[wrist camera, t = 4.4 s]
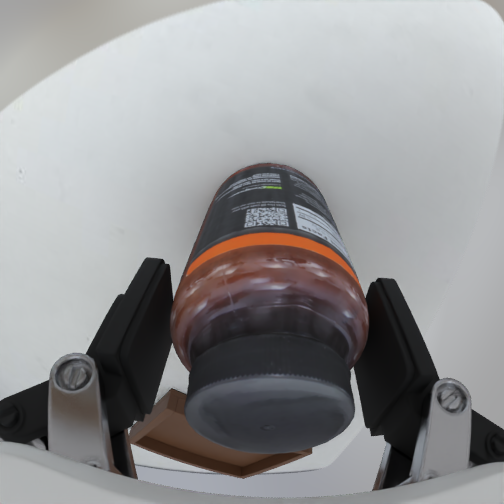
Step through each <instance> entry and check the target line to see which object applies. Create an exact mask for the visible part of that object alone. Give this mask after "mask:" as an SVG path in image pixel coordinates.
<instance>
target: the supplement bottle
mask: <svg viewBox="0 0 504 504" xmlns="http://www.w3.org/2000/svg"><path fill="white" fill-rule="evenodd" d="M368 330H369V314H368V309H367V303H366V300H365V296H364V294H363V291H362V289H361V286H360V284H359V281H358V277H357V275H356V272H355V270H354V268H353V265H352V262H351V260H350V258H349V255H348V253H347V250H346V248H345V246H344V243H343V241H342V238H341V236H340V234H339V232H338V229H337V227H336V224H335V222H334V220H333V218H332V215H331V213H330V211H329V209H328V206H327V204H326V202H325V199H324V197H323V196H322V194H321V193H320V191H319V190H318V188H317V187H316V185H315V184H314V183H313V182H312V181H311V180H310V179H309V178H308V177H307V176H305V175H304V174H302V173H301V172H299V171H298V170H296V169H293V168H291V167H289V166H285V165H279V164H271V163H266V164H257V165H253V166H249V167H246V168H244V169H241V170H239V171H237V172H236V173H234V174H233V175H231V176H230V177H229V178H228V179H227V180H226V181H225V182H224V183H223V184H222V185H221V186H220V188H219V189H218V191H217V192H216V194H215V196H214V198H213V201H212V203H211V204H210V207H209V209H208V211H207V214H206V216H205V219H204V221H203V224H202V226H201V229H200V231H199V234H198V236H197V239H196V241H195V243H194V246H193V249H192V252H191V254H190V257H189V259H188V262H187V264H186V267H185V269H184V272H183V275H182V277H181V280H180V283H179V286H178V289H177V291H176V294H175V298H174V301H173V305H172V309H171V315H170V333H171V339H172V343H173V346H174V348H175V351H176V353H177V355H178V357H179V359H180V360H181V362H182V364H183V365H184V366H185V367H186V369H187V370H188V371H189V372H190V374H189V385H188V391H187V397H186V401H185V405H184V413H185V417H186V420H187V422H188V424H189V425H190V426H191V427H192V428H193V429H194V430H195V432H196V433H198V434H199V435H201V436H203V437H204V438H206V439H208V440H210V441H211V442H213V443H216V444H218V445H220V446H223V447H226V448H230V449H234V450H237V451H242V452H247V453H258V454H277V453H289V452H297V451H301V450H305V449H309V448H312V447H315V446H318V445H321V444H323V443H326V442H328V441H329V440H331V439H333V438H334V437H336V436H337V435H339V434H341V433H342V432H343V431H344V430H345V429H346V428H347V427H348V425H349V424H350V423H351V421H352V419H353V418H354V414H355V405H354V399H353V393H352V389H351V384H350V380H351V372H350V370H351V369H352V368H353V366H354V365H355V363H356V362H357V361H358V359H359V358H360V356H361V354H362V352H363V350H364V348H365V345H366V342H367V339H368Z"/></svg>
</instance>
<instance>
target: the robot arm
mask: <svg viewBox="0 0 504 504" xmlns="http://www.w3.org/2000/svg"><path fill="white" fill-rule="evenodd" d="M365 300H366V303H367V309H368V314H369V330H368V339H367V342H366V345H365V348H364V350H363V352H362V354H361V356H360V358H359V359H358V361H357V362H356V363H355V365H354V371H355V375H356V380H357V385H358V390H359V395H360V401H361V406H362V411H363V417H364V422H365V426H366V428H370V431H371V436H378V435H384V439H385V441H386V442H387V443H386V446H385V450H384V454H383V457H382V461H381V464H380V468H379V471H378V474H377V478H376V481H375V484H374V487H373V490H372V491H370V492H363V493H356V494H346V495H336V496H324V497H305V498H263V497H244V496H231V495H221V494H212V493H204V492H197V491H191V490H184V489H179V488H173V487H168V486H163V485H158V484H154V483H149V482H145V481H141V480H138V478H137V474H136V469H135V465H134V460H133V455H132V450H131V445H130V440H129V435H128V429H127V428H129V427H131V426H132V425H133V422H134V420H136V421H141V422H144V418H145V415H146V414H149V415H150V414H151V412H152V409H153V406H154V402H155V399H156V395H157V392H158V388H159V385H160V381H161V378H162V375H163V371H164V368H165V365H166V361H167V358H168V355H169V352H170V348H171V345H172V339H171V333H170V315H171V309H172V305H173V293H172V283H171V272H170V265H169V264H165V262H164V260H163V259H158V258H148V257H147V258H146V259H145V260H144V261H143V263H142V265H141V267H140V268H139V270H138V272H137V273H136V275H135V277H134V278H133V280H132V282H131V284H130V285H129V287H128V289H127V291H126V293H125V294H120V295H118V296H117V298H116V299H115V301H114V303H113V304H112V306H111V308H110V310H109V312H108V313H107V315H106V317H105V319H104V321H103V322H102V324H101V326H100V328H99V330H98V332H97V333H96V335H95V337H94V339H93V341H92V343H91V345H90V347H89V349H88V351H87V352H86V354H82V353H71V354H67V355H65V356H63V357H61V358H60V359H59V360H58V361H56V362H55V364H54V365H53V367H52V369H51V372H50V378H49V380H48V381H45V382H43V383H41V384H38V385H36V386H33V387H31V388H29V389H26V390H24V391H21V392H19V393H16V394H14V395H12V396H9V397H7V398H4V399H3V400H1V401H0V504H504V430H503V429H502V428H500V427H499V426H497V425H496V424H494V423H493V422H491V421H489V420H488V419H486V418H485V417H483V416H482V415H480V414H479V413H477V412H476V411H474V410H472V409H471V396H470V394H469V392H468V390H467V388H466V387H465V386H464V385H463V384H462V383H461V382H459V381H457V380H455V379H452V378H443V379H439V377H438V374H437V371H436V368H435V366H434V363H433V361H432V359H431V356H430V354H429V351H428V349H427V347H426V344H425V342H424V340H423V337H422V335H421V333H420V331H419V328H418V326H417V324H416V322H415V320H414V317H413V315H412V313H411V311H410V309H409V307H408V305H407V303H406V301H405V299H404V297H403V295H402V293H401V291H400V289H399V287H398V285H397V283H396V281H395V280H394V279H388V278H377V280H376V281H375V282H372V283H371V284H370V287H369V290H368V293H367V295H366V298H365Z"/></svg>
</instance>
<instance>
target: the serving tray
mask: <svg viewBox="0 0 504 504" xmlns="http://www.w3.org/2000/svg"><path fill="white" fill-rule="evenodd" d="M186 397H187V395H185V394H183V393H181V392H178V391H176V390H174V389H171V390H170V391H169V392H168V393H167V394H166V395H165V396H164V397H163V398H162V399H161V400H160V401H159V402H157V403H156V404H155V405H154V406H153V409H152V412H151V414H150V415H149V414H146V415H145V418H144V422H141V421H138V422H137V423H136V424H135V425H134V426H133V427H132V428H131V430H130V434H129V440H130V443H131V444H134V445H136V446H138V447H141V448H143V449H146V450H148V451H151V452H154V453H156V454H159V455H162V456H165V457H168V458H170V459H173V460H176V461H179V462H182V463H186V464H189V465H192V466H195V467H199V468H202V469H206V470H209V471H213V472H217V473H221V474H225V475H230V476H234V477H238V478H243V479H244V478H247V477H250V476H254V475H257V474H260V473H263V472H266V471H268V470H271V469H274V468H277V467H280V466H282V465H285V464H288V463H290V462H293V461H295V460H298V459H300V458H303V457H305V456H307V455H310V454H312V448H309V449H305V450H301V451H297V452H289V453H277V454H258V453H247V452H242V451H237V450H234V449H230V448H226V447H223V446H220V445H218V444H216V443H213V442H211V441H210V440H208V439H206V438H204V437H203V436H201V435H199V434H198V433H196V432H195V430H194V429H193V428H192V427H191V426H190V425H189V424H188V422H187V420H186V417H185V413H184V405H185V401H186Z"/></svg>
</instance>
